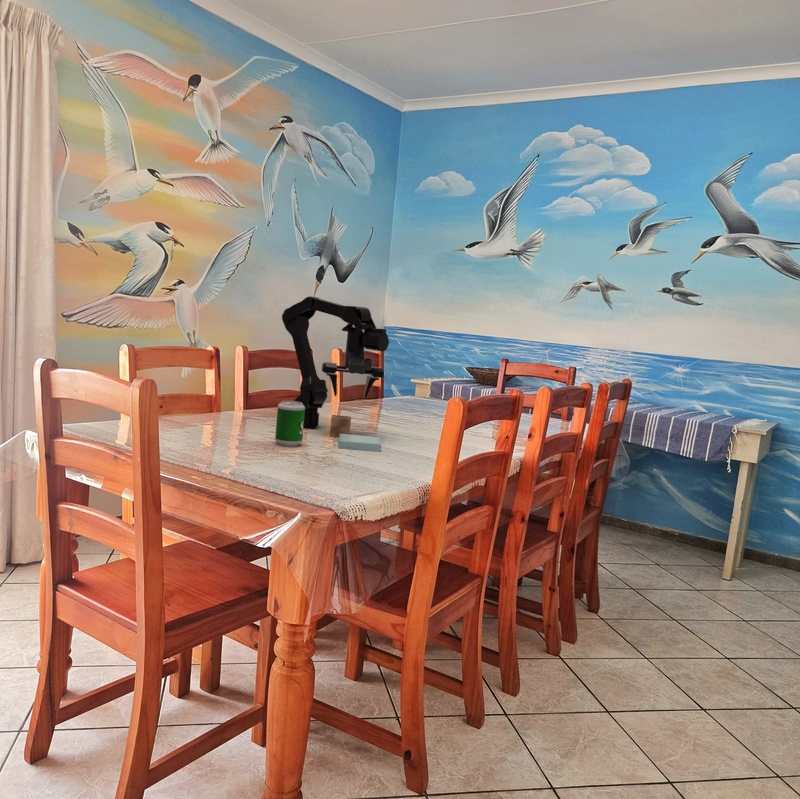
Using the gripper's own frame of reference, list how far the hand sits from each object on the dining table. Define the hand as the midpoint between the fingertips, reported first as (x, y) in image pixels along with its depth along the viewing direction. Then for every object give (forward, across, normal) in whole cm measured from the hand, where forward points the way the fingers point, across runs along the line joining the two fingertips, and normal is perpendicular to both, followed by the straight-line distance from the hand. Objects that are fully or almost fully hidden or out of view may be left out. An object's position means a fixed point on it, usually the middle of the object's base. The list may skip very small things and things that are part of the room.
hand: (350, 397), depth 216 cm
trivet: (+12, +2, -15) cm, 19 cm away
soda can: (+12, -19, -19) cm, 30 cm away
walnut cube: (+12, -2, -1) cm, 12 cm away
